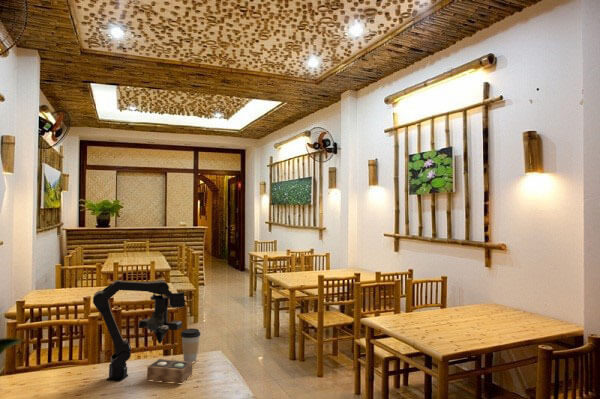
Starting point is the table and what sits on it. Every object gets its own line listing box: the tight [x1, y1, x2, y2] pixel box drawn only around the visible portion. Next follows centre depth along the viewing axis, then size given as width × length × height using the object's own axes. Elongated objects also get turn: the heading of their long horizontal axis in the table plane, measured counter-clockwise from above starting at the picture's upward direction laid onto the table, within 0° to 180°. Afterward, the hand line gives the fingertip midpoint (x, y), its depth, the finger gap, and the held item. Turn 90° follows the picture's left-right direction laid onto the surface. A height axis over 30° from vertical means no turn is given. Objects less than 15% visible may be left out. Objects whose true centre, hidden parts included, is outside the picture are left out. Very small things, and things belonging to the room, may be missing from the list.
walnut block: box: [146, 358, 193, 384], centre depth 180 cm, size 16×10×6 cm, turn 80°
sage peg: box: [174, 363, 184, 367], centre depth 179 cm, size 4×4×6 cm
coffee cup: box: [180, 328, 202, 362], centre depth 199 cm, size 9×9×15 cm
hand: (159, 343), depth 186 cm, fingers closed
